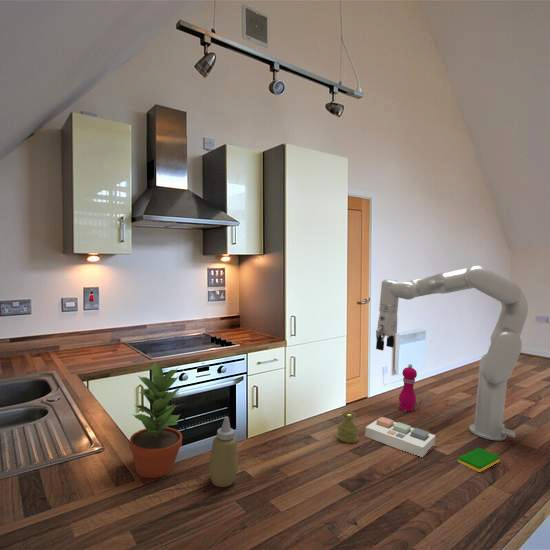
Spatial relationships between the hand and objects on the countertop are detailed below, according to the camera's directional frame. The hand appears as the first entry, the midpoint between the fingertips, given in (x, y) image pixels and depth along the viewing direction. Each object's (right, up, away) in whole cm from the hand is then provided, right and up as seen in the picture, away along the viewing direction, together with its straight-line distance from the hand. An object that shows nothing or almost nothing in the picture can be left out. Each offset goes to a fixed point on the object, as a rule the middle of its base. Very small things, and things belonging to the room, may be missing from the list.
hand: (384, 348), depth 169 cm
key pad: (-3, -28, -28) cm, 40 cm away
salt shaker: (-22, -27, -29) cm, 45 cm away
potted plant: (-81, -24, -56) cm, 102 cm away
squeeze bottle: (-62, -26, -61) cm, 90 cm away
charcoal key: (+3, -27, -31) cm, 41 cm away
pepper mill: (+11, -28, +4) cm, 30 cm away
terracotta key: (-6, -25, -23) cm, 35 cm away
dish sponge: (+20, -31, -40) cm, 54 cm away
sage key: (-1, -26, -27) cm, 37 cm away
